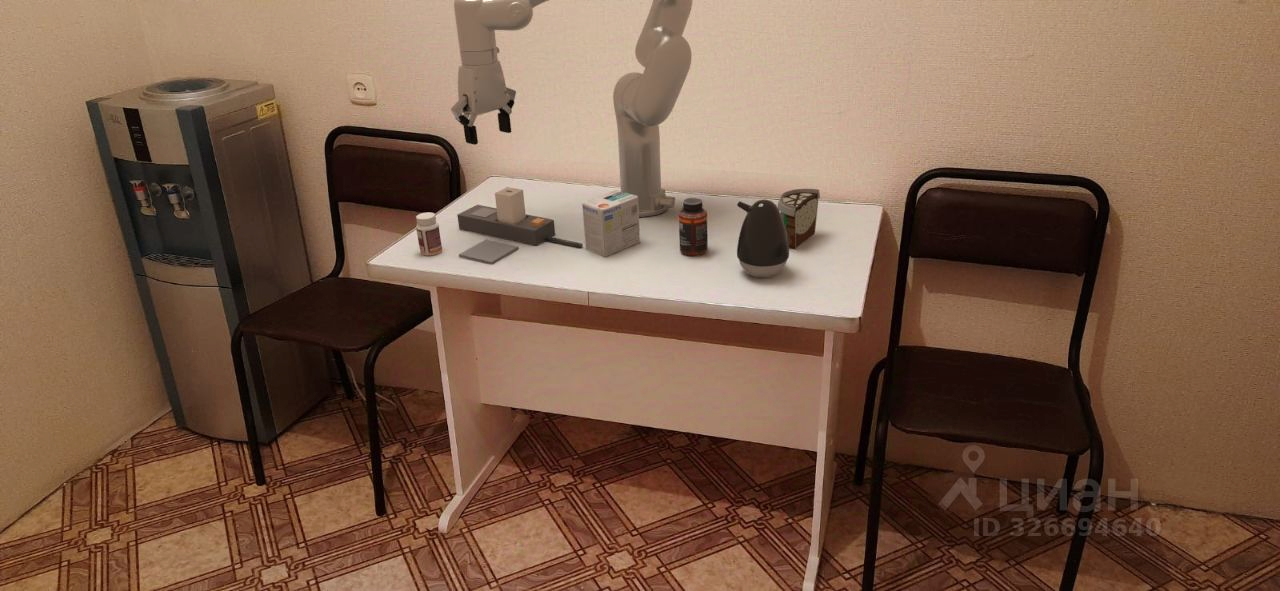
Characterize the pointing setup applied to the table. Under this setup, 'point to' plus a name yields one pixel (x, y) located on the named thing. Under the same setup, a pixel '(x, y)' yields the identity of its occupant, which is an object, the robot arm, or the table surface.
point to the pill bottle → (428, 234)
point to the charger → (510, 205)
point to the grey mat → (488, 251)
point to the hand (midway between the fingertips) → (489, 137)
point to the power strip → (510, 227)
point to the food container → (799, 214)
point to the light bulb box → (611, 222)
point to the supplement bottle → (693, 228)
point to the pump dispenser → (762, 239)
